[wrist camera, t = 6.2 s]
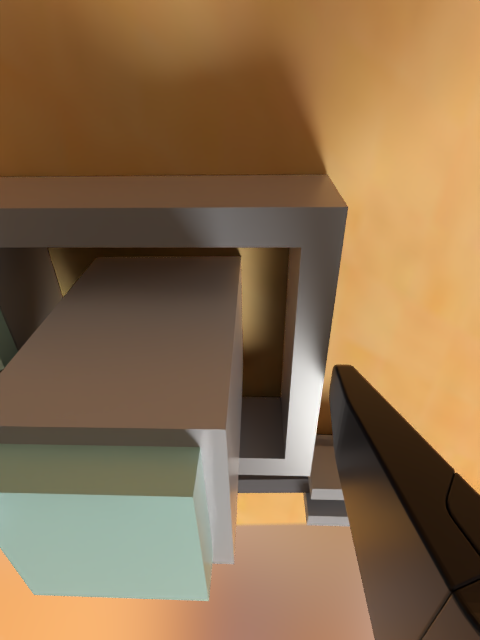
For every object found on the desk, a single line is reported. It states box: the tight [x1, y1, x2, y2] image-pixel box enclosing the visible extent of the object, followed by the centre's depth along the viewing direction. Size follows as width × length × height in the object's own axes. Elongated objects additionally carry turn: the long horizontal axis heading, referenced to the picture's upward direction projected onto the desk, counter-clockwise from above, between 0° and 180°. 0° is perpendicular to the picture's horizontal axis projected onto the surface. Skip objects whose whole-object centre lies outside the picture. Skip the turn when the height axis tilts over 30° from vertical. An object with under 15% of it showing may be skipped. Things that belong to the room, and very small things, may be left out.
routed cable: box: [238, 435, 350, 526], centre depth 14 cm, size 11×2×2 cm, turn 91°
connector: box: [0, 256, 243, 601], centre depth 9 cm, size 4×4×7 cm
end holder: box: [0, 175, 348, 476], centre depth 10 cm, size 8×8×3 cm
